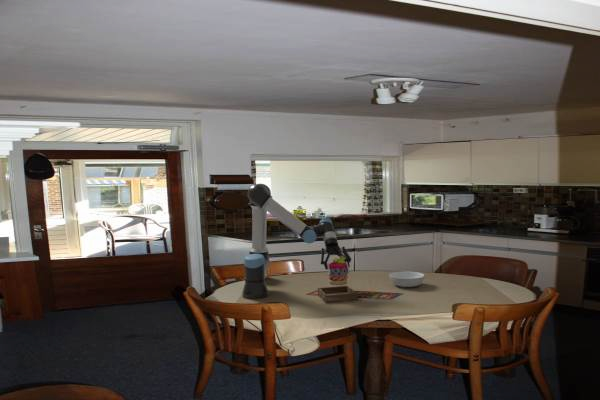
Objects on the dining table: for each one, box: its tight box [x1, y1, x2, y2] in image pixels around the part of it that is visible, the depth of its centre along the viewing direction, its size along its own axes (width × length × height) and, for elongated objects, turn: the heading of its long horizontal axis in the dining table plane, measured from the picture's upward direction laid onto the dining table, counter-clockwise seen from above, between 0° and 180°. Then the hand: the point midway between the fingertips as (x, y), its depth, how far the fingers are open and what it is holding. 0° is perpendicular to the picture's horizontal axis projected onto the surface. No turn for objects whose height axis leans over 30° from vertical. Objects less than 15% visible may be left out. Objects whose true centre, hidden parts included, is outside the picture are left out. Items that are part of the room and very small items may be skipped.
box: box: [317, 285, 359, 304], centre depth 261 cm, size 18×18×4 cm
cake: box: [328, 256, 349, 286], centre depth 259 cm, size 10×11×15 cm
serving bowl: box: [388, 270, 426, 288], centre depth 283 cm, size 21×21×7 cm
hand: (339, 273), depth 257 cm, fingers closed on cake, 10 cm apart
